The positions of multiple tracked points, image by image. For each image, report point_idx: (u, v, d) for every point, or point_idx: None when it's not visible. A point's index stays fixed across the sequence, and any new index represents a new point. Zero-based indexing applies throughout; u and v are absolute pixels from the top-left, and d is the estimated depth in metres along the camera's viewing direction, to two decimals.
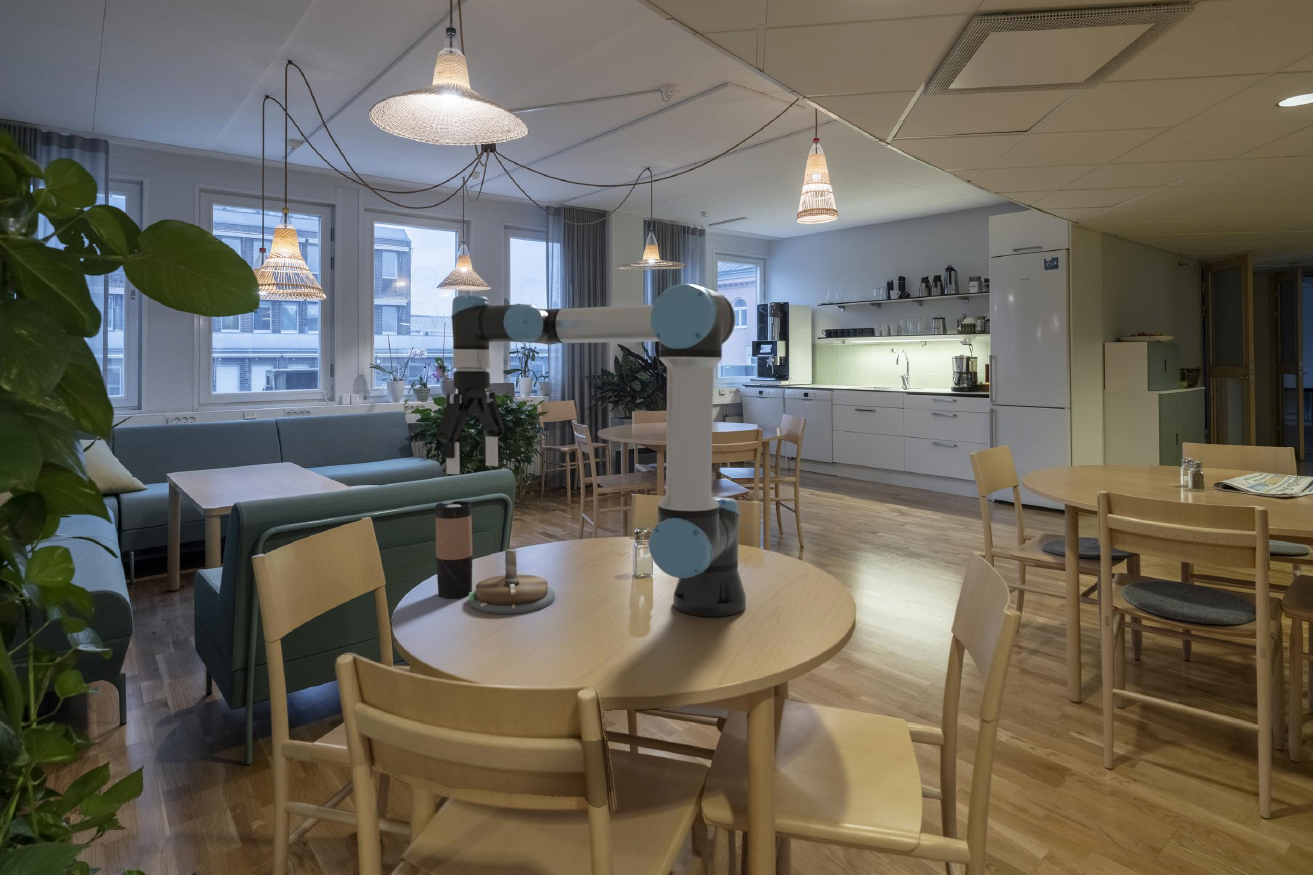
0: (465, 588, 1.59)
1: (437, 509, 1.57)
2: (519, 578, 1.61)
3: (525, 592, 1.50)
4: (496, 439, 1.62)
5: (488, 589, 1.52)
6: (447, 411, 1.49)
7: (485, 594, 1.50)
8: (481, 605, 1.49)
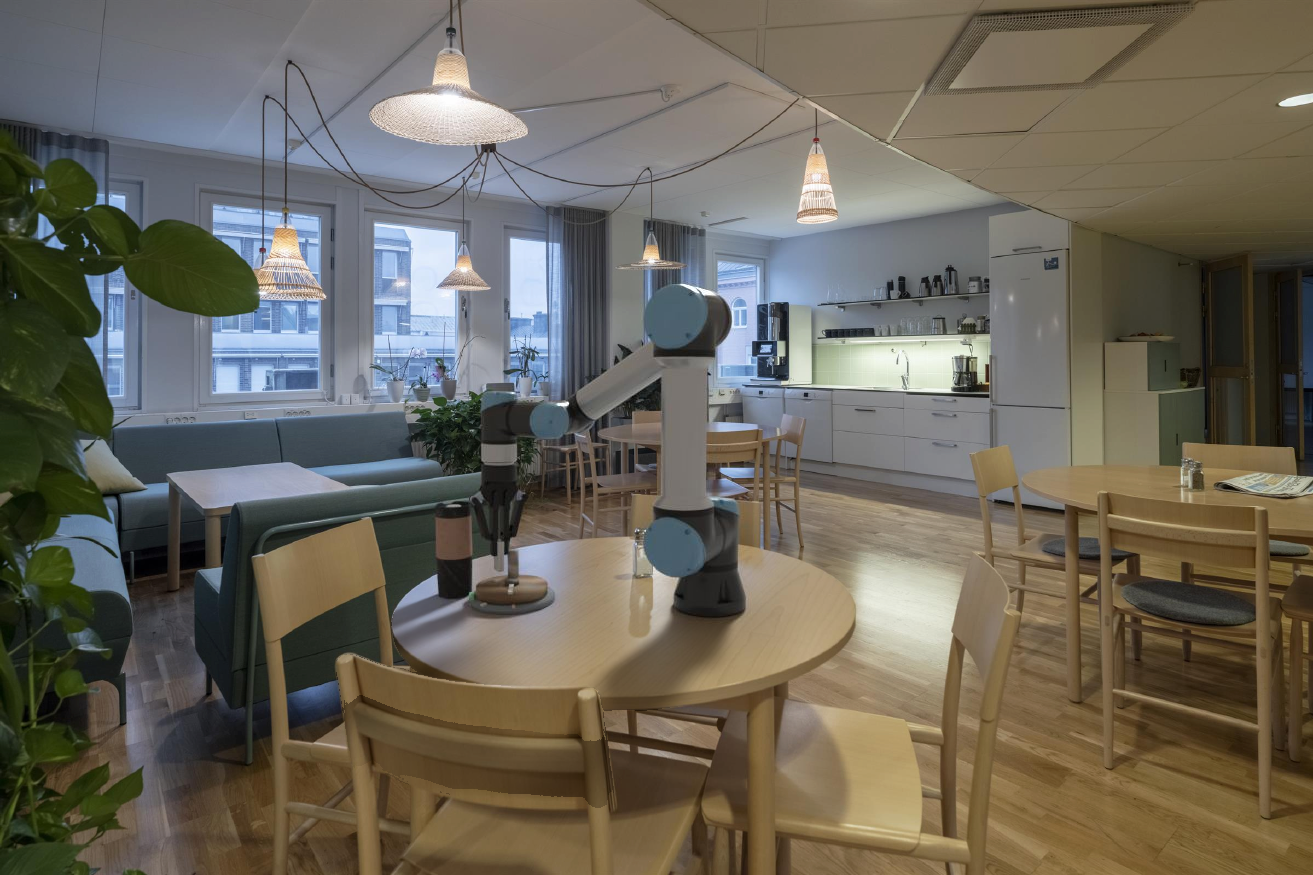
0: (465, 588, 1.59)
1: (437, 509, 1.57)
2: (521, 578, 1.61)
3: (522, 593, 1.50)
4: (502, 544, 1.59)
5: (487, 589, 1.53)
6: (476, 513, 1.57)
7: (483, 593, 1.51)
8: (481, 605, 1.49)
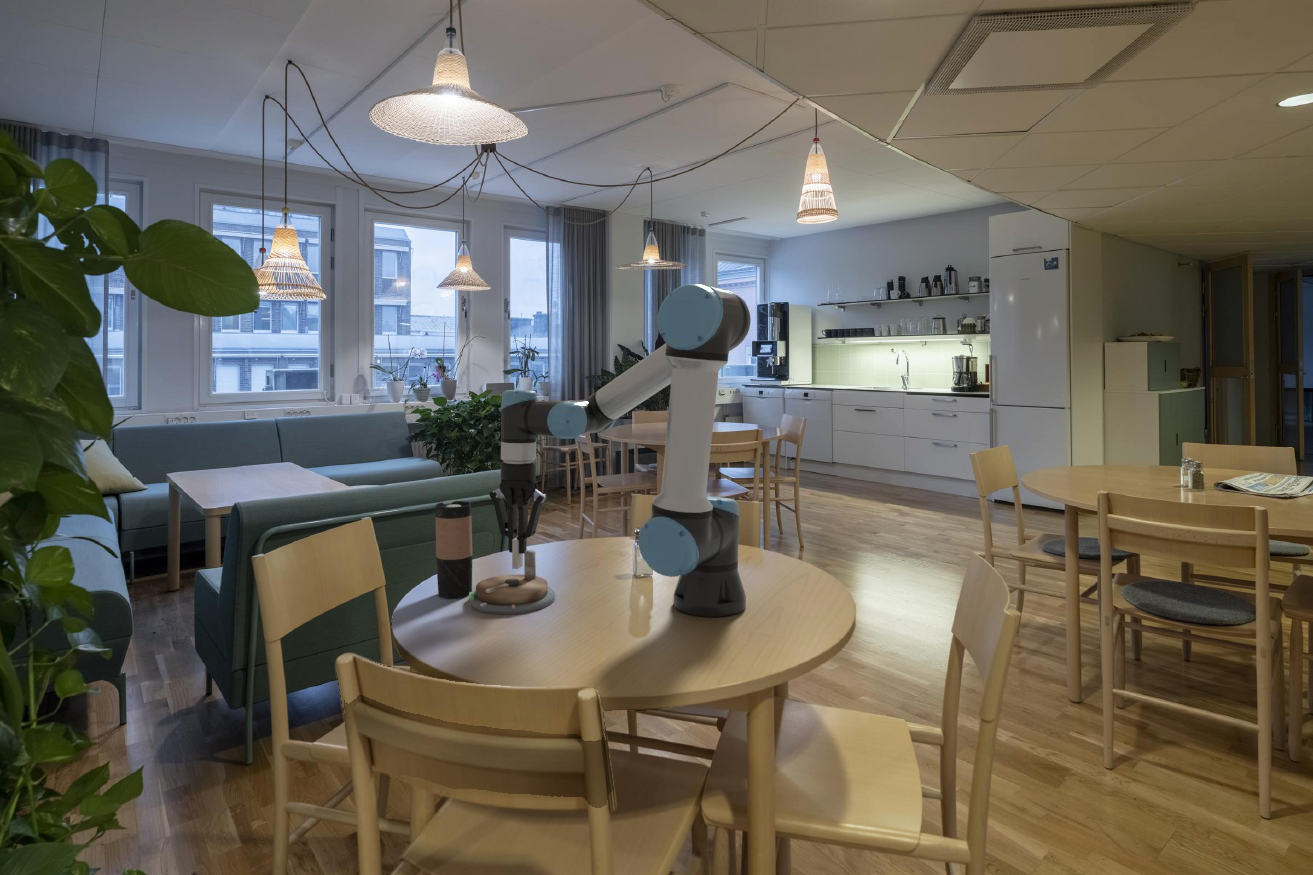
0: (465, 588, 1.59)
1: (437, 509, 1.57)
2: (531, 581, 1.59)
3: (497, 594, 1.49)
4: (515, 542, 1.60)
5: (485, 583, 1.57)
6: None
7: (476, 587, 1.55)
8: (481, 605, 1.49)
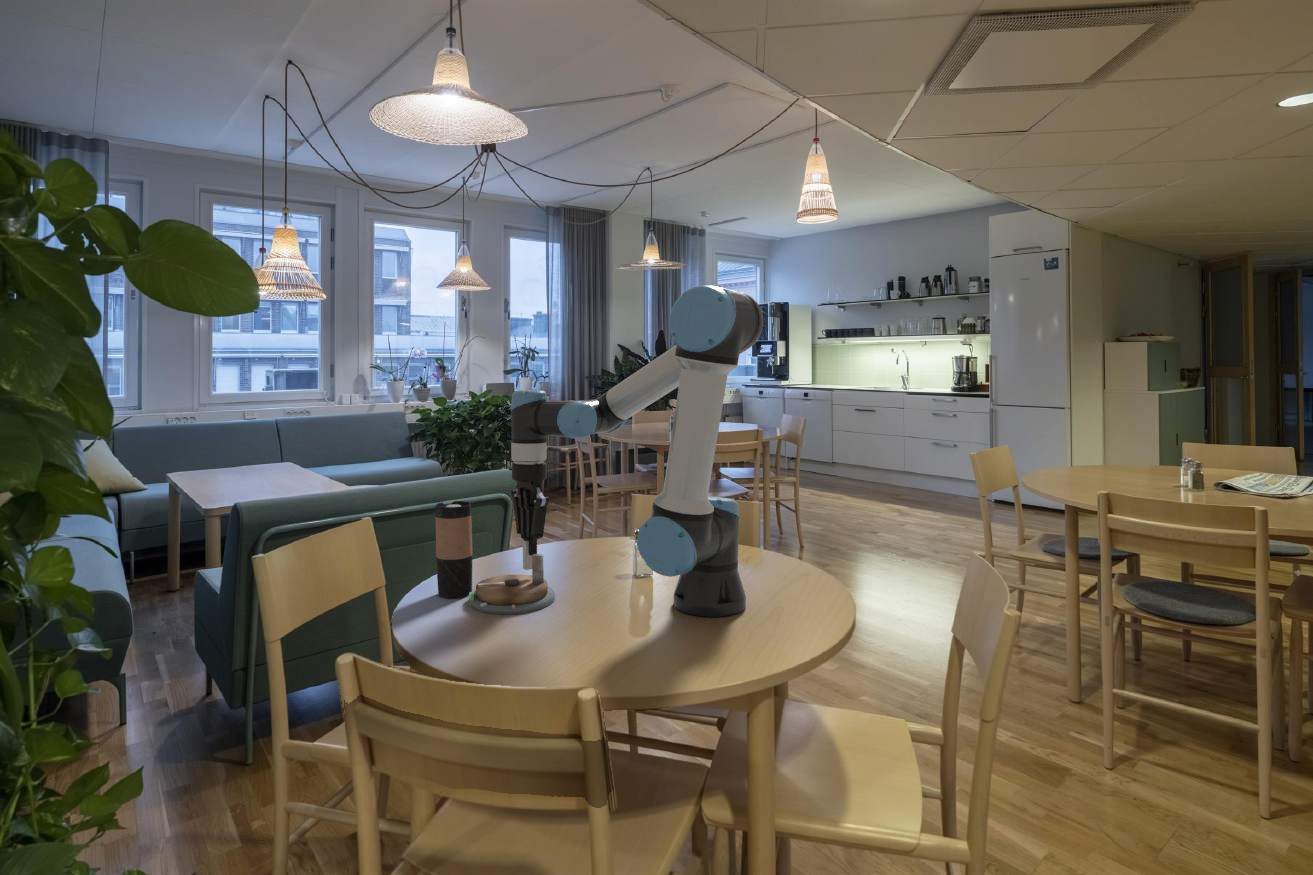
0: (465, 588, 1.59)
1: (437, 509, 1.57)
2: (531, 585, 1.56)
3: (479, 589, 1.52)
4: (525, 542, 1.59)
5: (496, 578, 1.60)
6: None
7: None
8: (481, 605, 1.49)
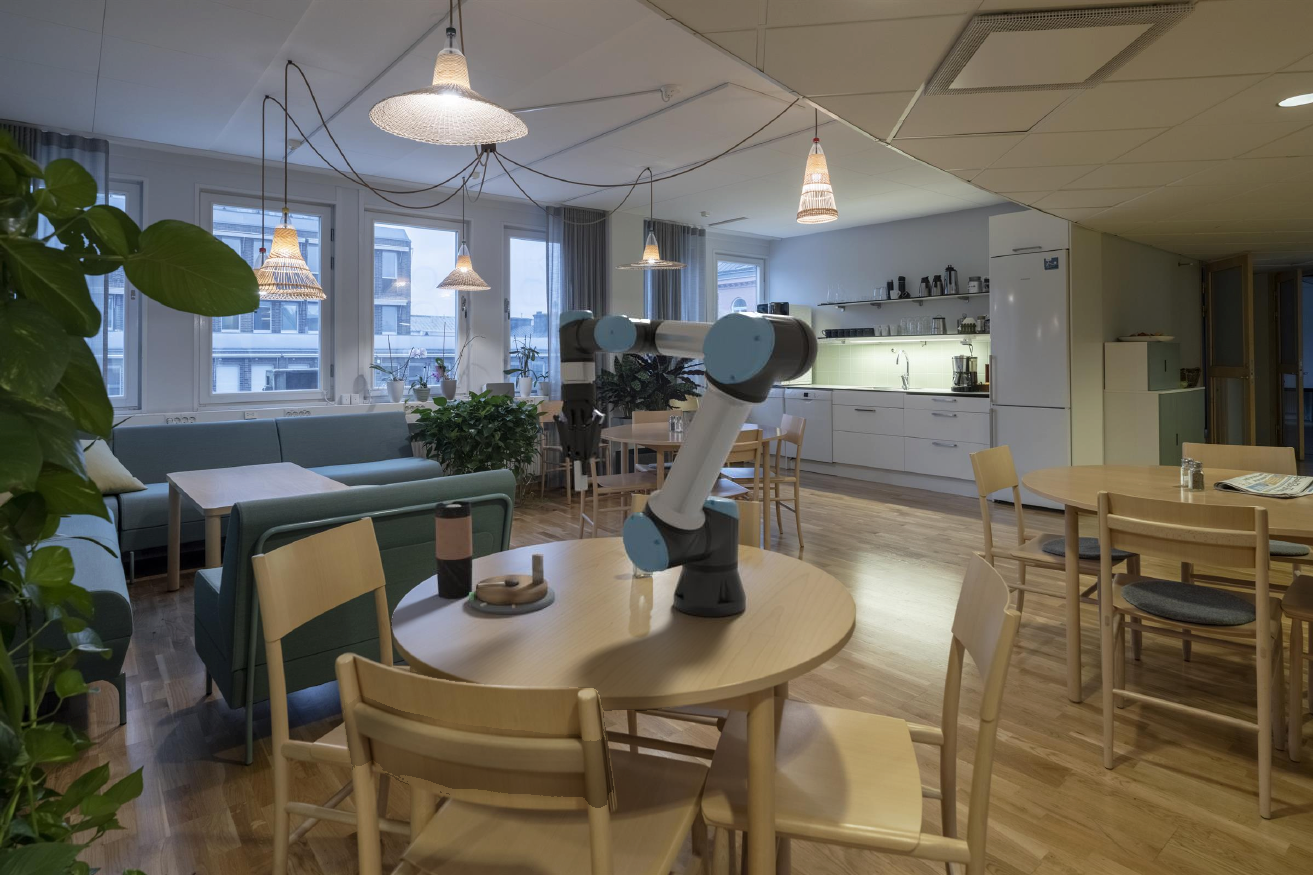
0: (465, 588, 1.59)
1: (437, 509, 1.57)
2: (531, 585, 1.56)
3: (479, 589, 1.52)
4: (578, 463, 1.60)
5: (496, 578, 1.60)
6: None
7: None
8: (481, 605, 1.49)
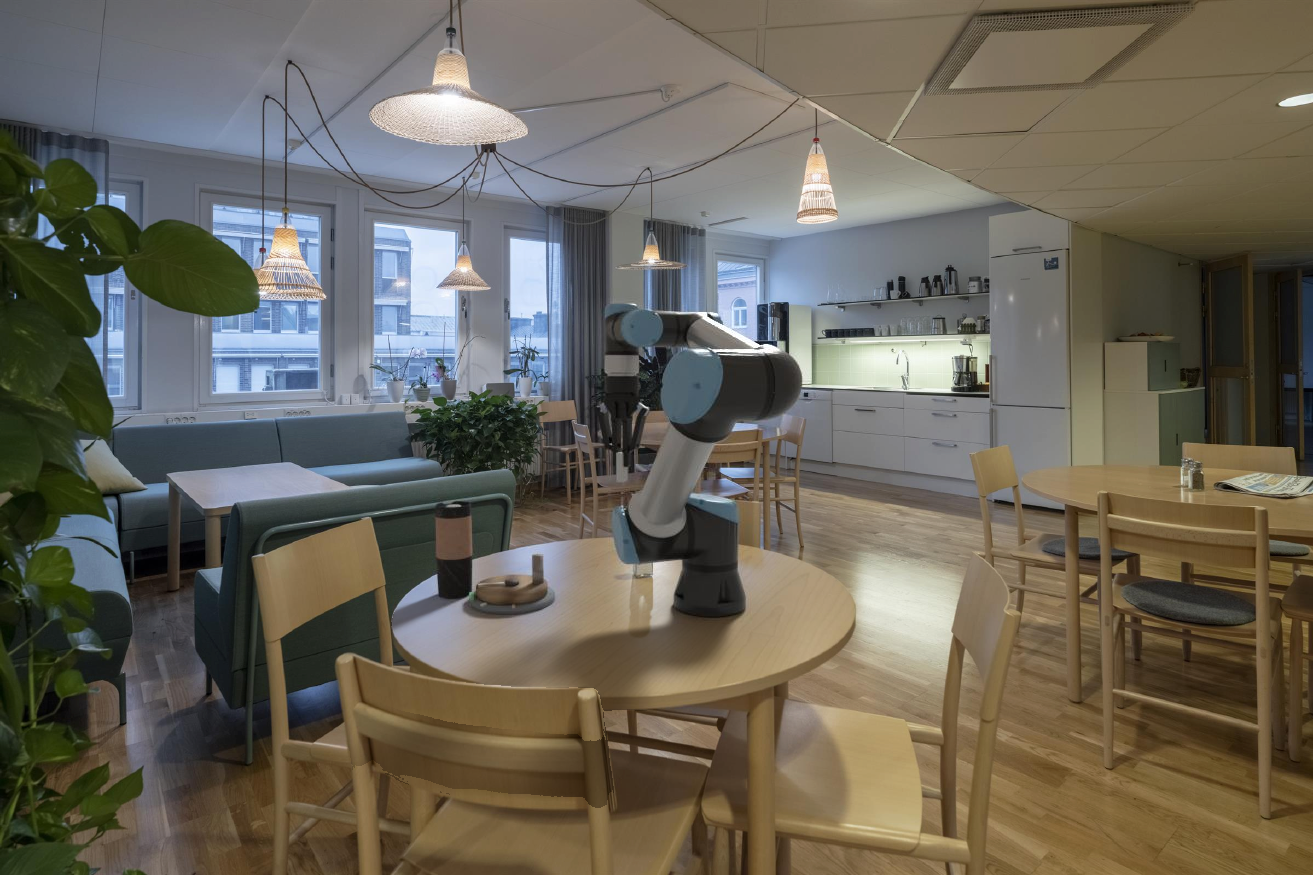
0: (465, 588, 1.59)
1: (437, 509, 1.57)
2: (531, 585, 1.56)
3: (479, 589, 1.52)
4: (620, 455, 1.62)
5: (496, 578, 1.60)
6: None
7: None
8: (481, 605, 1.49)
